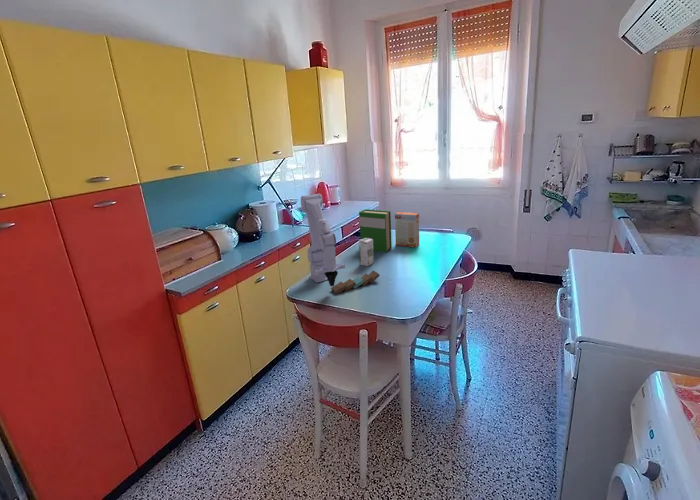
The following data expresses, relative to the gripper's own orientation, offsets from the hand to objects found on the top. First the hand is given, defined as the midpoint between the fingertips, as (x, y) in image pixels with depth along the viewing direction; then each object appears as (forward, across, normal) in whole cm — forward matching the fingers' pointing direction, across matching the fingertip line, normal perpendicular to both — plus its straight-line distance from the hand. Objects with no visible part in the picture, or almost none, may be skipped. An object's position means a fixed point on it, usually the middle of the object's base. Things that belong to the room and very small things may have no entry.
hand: (331, 285), depth 173 cm
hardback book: (+4, +50, +39) cm, 64 cm away
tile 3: (+3, +15, 0) cm, 16 cm away
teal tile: (+3, +10, 0) cm, 11 cm away
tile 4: (+3, +20, 0) cm, 20 cm away
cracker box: (+4, +70, +32) cm, 77 cm away
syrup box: (+4, +32, +21) cm, 39 cm away
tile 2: (+3, +6, 0) cm, 7 cm away
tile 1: (+3, +1, 0) cm, 3 cm away
